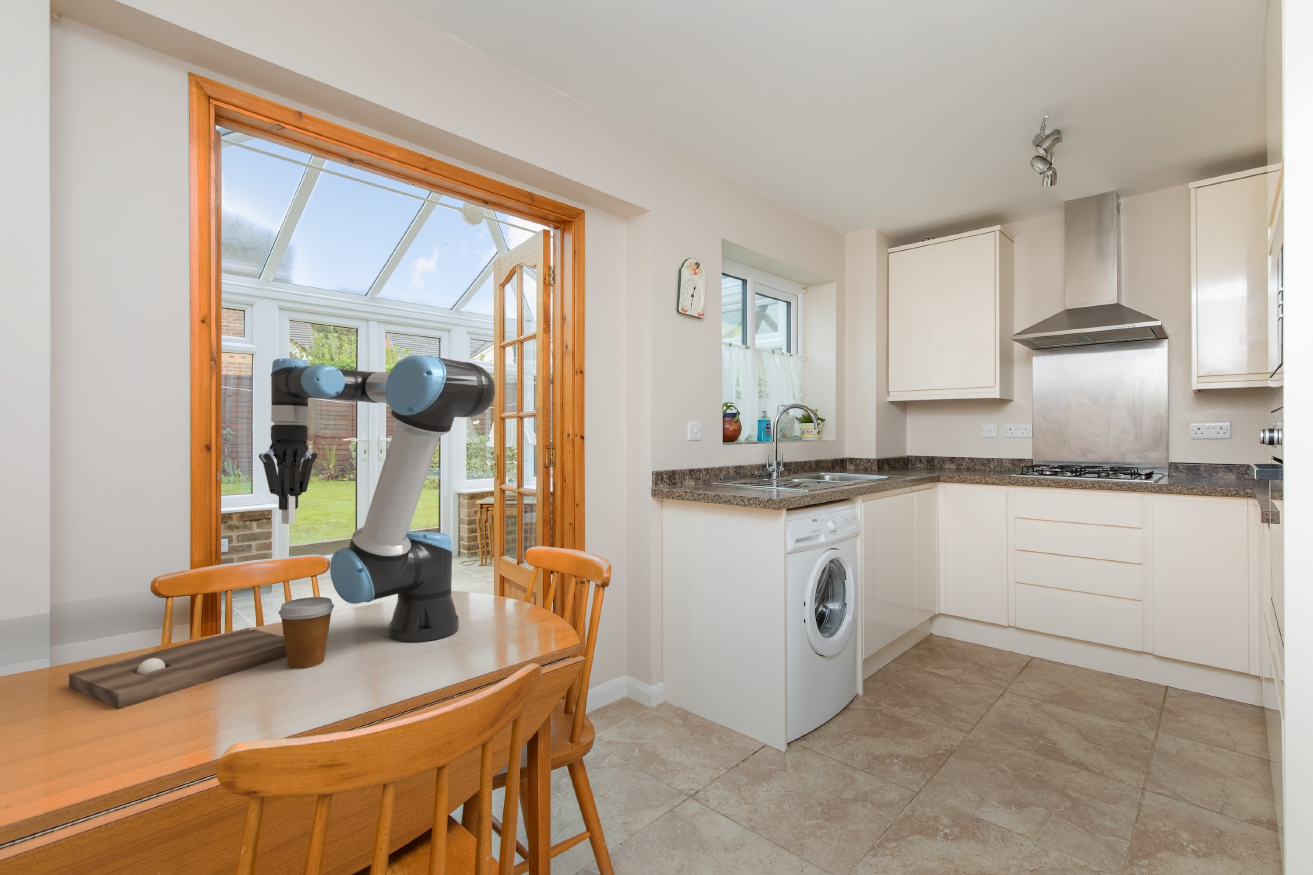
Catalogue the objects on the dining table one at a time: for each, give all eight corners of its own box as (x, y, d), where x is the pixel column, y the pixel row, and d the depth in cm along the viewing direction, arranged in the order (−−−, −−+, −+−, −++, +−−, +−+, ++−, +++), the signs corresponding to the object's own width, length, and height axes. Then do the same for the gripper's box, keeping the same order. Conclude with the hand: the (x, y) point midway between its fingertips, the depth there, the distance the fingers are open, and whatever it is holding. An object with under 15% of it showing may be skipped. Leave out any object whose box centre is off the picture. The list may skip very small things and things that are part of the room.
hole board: (298, 652, 125) (299, 640, 125) (118, 708, 98) (118, 693, 98) (248, 639, 133) (248, 627, 133) (68, 687, 106) (69, 673, 106)
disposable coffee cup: (308, 673, 113) (309, 610, 113) (265, 669, 115) (266, 607, 115) (344, 656, 123) (344, 597, 123) (304, 652, 124) (304, 595, 125)
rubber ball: (168, 680, 110) (167, 662, 109) (140, 689, 107) (139, 671, 106) (162, 667, 113) (161, 650, 111) (135, 676, 110) (133, 658, 108)
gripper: (306, 425, 150) (304, 519, 150) (251, 423, 138) (250, 525, 138) (325, 425, 147) (324, 521, 147) (271, 423, 135) (269, 527, 135)
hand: (288, 523), depth 142 cm, fingers closed
